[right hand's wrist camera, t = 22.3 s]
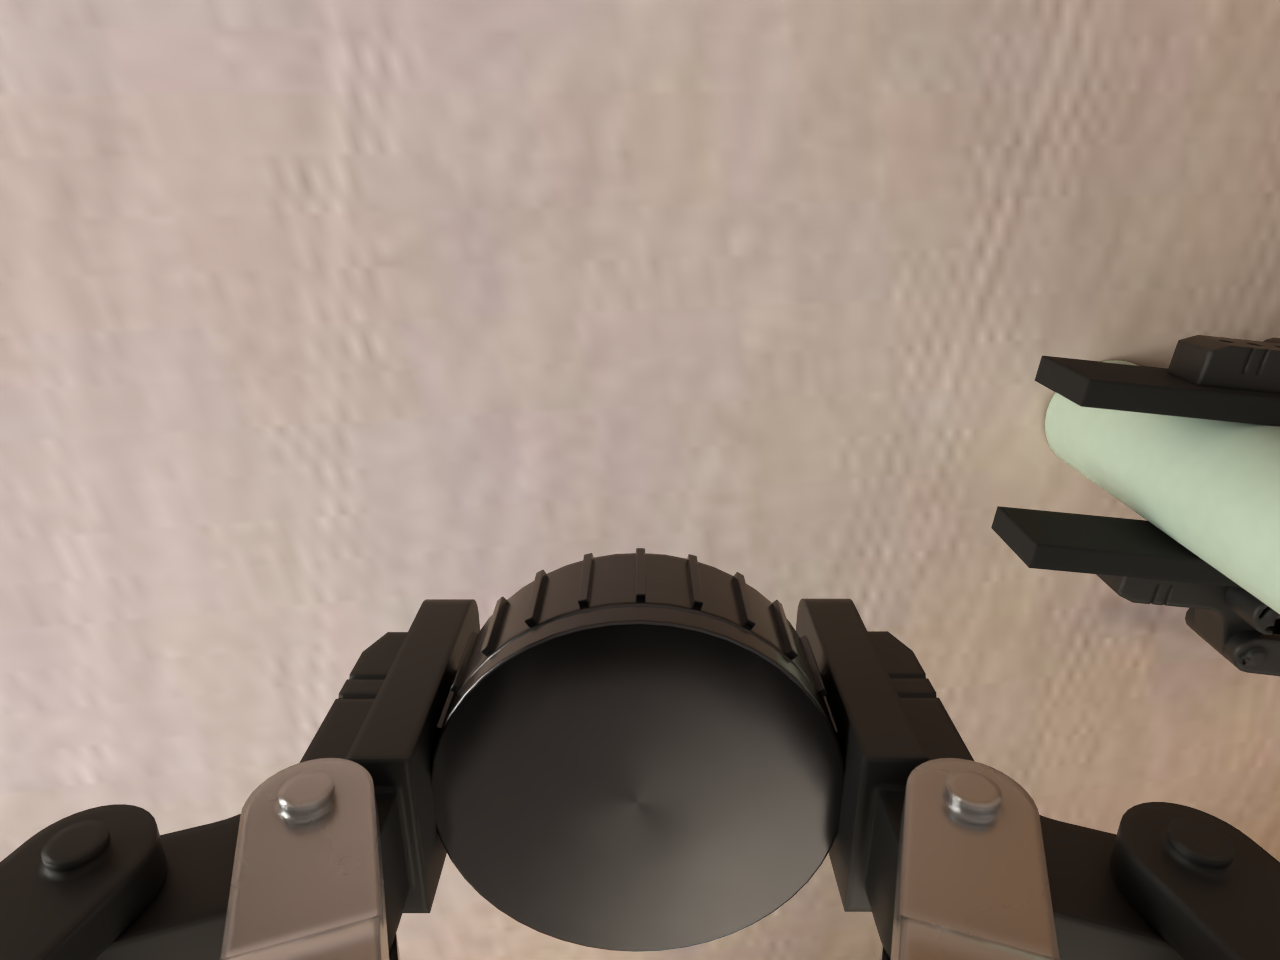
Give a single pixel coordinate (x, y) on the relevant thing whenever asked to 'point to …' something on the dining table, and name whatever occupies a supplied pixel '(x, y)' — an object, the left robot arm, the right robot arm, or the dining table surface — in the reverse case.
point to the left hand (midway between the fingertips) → (1037, 461)
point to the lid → (637, 755)
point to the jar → (1186, 481)
